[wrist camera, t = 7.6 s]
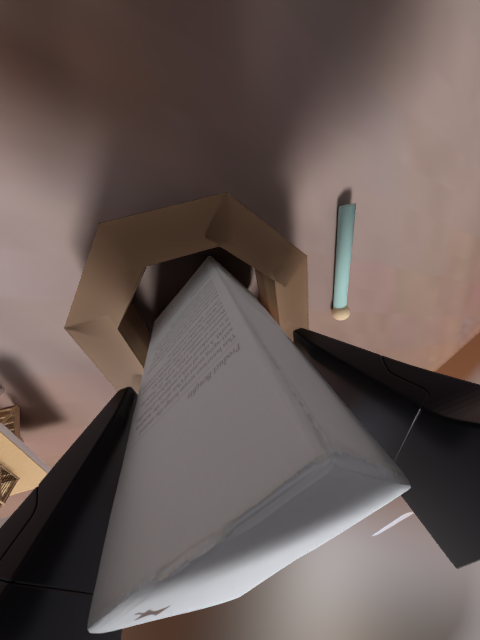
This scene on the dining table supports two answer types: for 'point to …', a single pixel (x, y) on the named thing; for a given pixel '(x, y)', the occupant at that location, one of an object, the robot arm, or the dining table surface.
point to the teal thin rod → (343, 260)
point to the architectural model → (16, 457)
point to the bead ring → (166, 244)
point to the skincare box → (229, 461)
